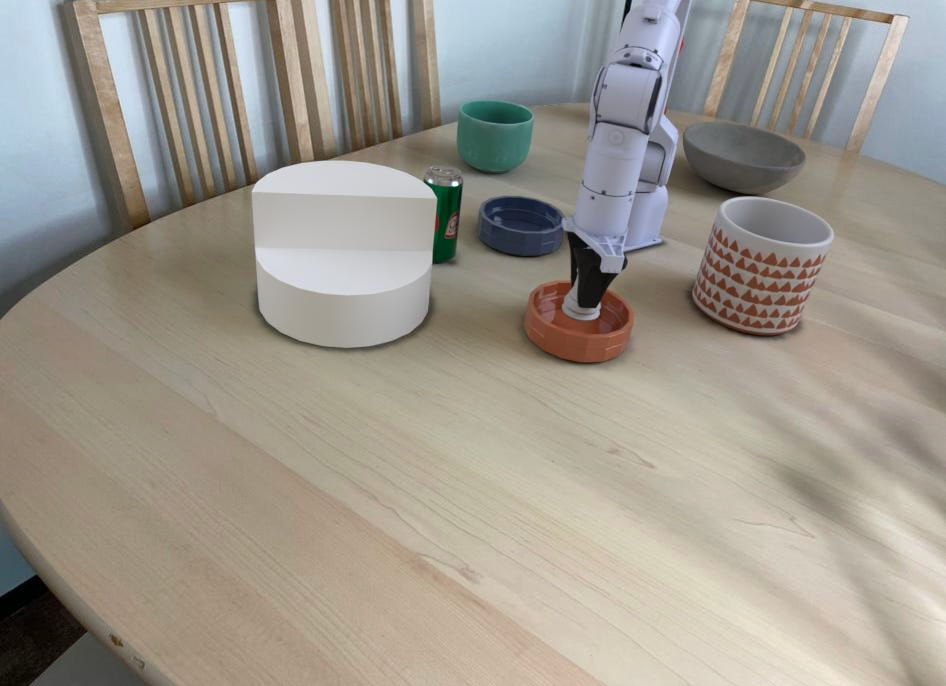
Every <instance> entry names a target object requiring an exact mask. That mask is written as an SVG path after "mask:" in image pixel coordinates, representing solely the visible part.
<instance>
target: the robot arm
mask: <svg viewBox="0 0 946 686" xmlns="http://www.w3.org/2000/svg"><path fill="white" fill-rule="evenodd" d="M692 2H693V0H642V2H641V4H640V5H637V6H635V7H634V8H632V9H631V10H630V11H629V12H628V13H626V15H625V18H624V20H623V23H622V25H621V28H620V32H619V35H618V38H617V40H616V43H615V46H614V49H613V51H612V54H611V57H610V59H609V62H608V65H607V67H605V66H604V65H602V66H601V67H600V68H599V71H598V73H597V75H596V78H595V81H594V85H593V89H592V92H591V96H590V97H591V98H590V103H589V123H588V129H587V137H586V139H587V140H588V141H589V142H588V145H587V149H586V155H585V160H584V166H583V170H582V175H581V180H580V186H579V190H578V195H577V199H576V206H575V210H574V212H573V214H572V217H566V218H563V220H562V227H563V229H564V231H565V233H566V237H567V240H568V246H569V256H570V258H569V259H570V280H571V286H572V288H573V286H574V284H575V281H576V278H577V275H578V290H577V301H578V306H579V307H580V308H597V306H598V305H599V303H600V301H601V299H602V297H603V296H604V294H605V292H606V290H607V289H609V287H610V285H611V283H612V282H613V281H614V280H615V279H616V277H617V276H618V275H619V274H621V273H622V272H623V271H624V270H625V269H626V268H627V266H628V262H629V260H628V258H627V255H626V254H624V253H626V252H631V251H635V250H638V249H641V248H645V247H650V246H654V245H658V244H662V243H663V242H662V241H663V239H662V238H660V237H659V235H660V231H661V227H662V224H663V220H664V217H665V213H666V210H667V207H668V202H669V201H668V200H669V196H668V189H667V187H666V185H667V183H668V181H669V177H670V174H671V171H672V168H673V164H674V161H675V160H674V159H675V156H676V152H677V149H678V147H677V145H678V141H679V137H680V134H679V130H678V129H677V127H676V126H675V125H674V124H673V123H672V122H671V120H669V119H668V117H667V116H666V114H665V115H664V110H665V106H666V103H667V102H668V98H669V94H670V90H671V86H672V83H673V78H674V75H675V70H676V67H677V62H678V60H679V59H678V58H679V56H678V55H680V54H679V51H680V47H681V43H682V39H683V35H684V36H685V31H686V27H687V22H688V18H689V15H690V10H691V6H692ZM680 52H681V51H680ZM667 104H668V103H667ZM587 247H591V248H592V249H587ZM583 248H585V249H583ZM577 268H578V272H577Z"/></svg>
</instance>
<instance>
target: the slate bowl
mask: <svg viewBox="0 0 946 686" xmlns="http://www.w3.org/2000/svg"><path fill="white" fill-rule="evenodd" d="M477 215H478V216H477V224H476V233H477V235H478V237H479V239H480V240H481V241H483V243H484V244H486V245H487V246H489V247H491V248H493V250H494V249H495V250H497V251H500V252H502V253H505V254H509V255H514V256H519V257H536V256H542V255H546V254H550V253H553V252H555V251H556V250H557V249H559V248H560V247H561V245H562V241H563V236H564V231H565V230H564V229H563V227H562V220H563V218H567V217H566V216H565V214H564V213H563V211H562V210H561V209H560V208H558V207H556V206H554V205H553V204H552V203H550V202H547V201H544V200H541V199H538V198H534V197H529V196H524V195H500V196H495V197H494V196H493V197H490V198H488V199H487V200H484V201H482V203H481V204H480V207H479V209H478V214H477Z"/></svg>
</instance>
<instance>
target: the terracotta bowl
mask: <svg viewBox="0 0 946 686" xmlns="http://www.w3.org/2000/svg"><path fill="white" fill-rule="evenodd" d="M571 289H572V286H571V279H568V280H567V279H565V280H553V281H548V282H545V283H542V284H539V285H538V286H537V287H535V288H534V289H533V290H532V291H530V293H529V296H528V300H527V306H526V312H525V317H524V323H523V328H524V331H525V333H526V335H527V337H528V339H529V340H530V341H532V343H534V344H535V345H536V346H537V347H538V348H540V349H541V350H542V351H544V352H547V353H549V354H551V355H552V356H556V357H557V358H560V359H563V360H567V361H573V362H578V363H601V362H606V361H608V360H611V359H615V358H618V357H620V355H621V354H622V353H623V352H624V351H625V350H626V349H627V348H628V345H629V342H630V337H631V334H632V331H633V328H634V323H635V311H634V310H633V309H632V307H631V306H630V304H629V302H628V301H627V300H626V299H625V298H623V297H622V296H620V295H619V294H617V293H616V292H614V291H613V290H611V289H609V288H607V290H606V292H605V294H604V296H603V297H602V299H601V301H600V305H601V308H600V309H599V310H600V315H599V316H598V317H597V318H596V319H595V320H593V321H590V322H578V321H575V320H572V319H570V318H569V317H567V316H566V315H565V313H564V312H563V310H562V304H563V303H564V298H565V296H566V295H567V294H568V293H569V291H570V290H571Z"/></svg>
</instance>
